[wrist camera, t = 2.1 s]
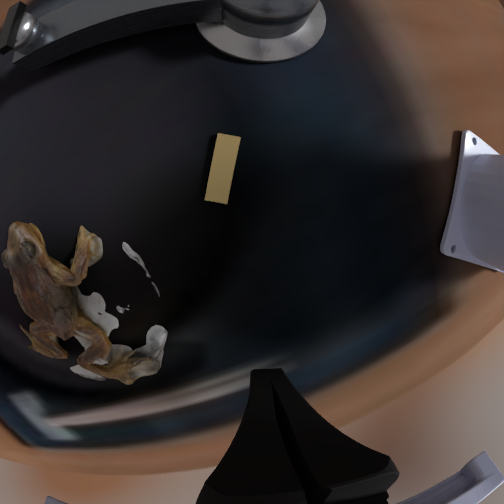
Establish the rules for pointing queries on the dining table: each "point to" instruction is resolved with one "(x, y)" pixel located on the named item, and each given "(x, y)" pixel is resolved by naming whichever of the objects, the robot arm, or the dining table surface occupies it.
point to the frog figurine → (74, 307)
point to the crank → (138, 23)
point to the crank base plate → (265, 40)
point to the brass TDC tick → (222, 168)
